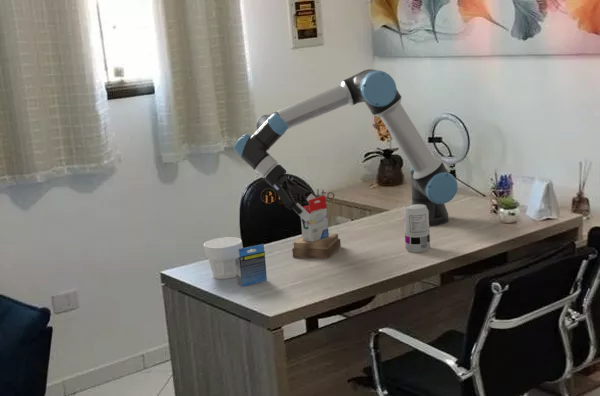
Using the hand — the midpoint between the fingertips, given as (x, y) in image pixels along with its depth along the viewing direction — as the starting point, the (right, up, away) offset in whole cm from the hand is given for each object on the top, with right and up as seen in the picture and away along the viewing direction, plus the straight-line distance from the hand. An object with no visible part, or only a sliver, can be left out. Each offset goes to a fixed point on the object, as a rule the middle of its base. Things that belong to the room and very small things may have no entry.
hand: (315, 214), depth 276 cm
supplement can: (+34, -12, -3) cm, 37 cm away
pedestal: (+1, -13, +3) cm, 14 cm away
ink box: (0, -9, +2) cm, 9 cm away
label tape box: (-20, -21, -23) cm, 37 cm away
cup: (-29, -20, -13) cm, 38 cm away
